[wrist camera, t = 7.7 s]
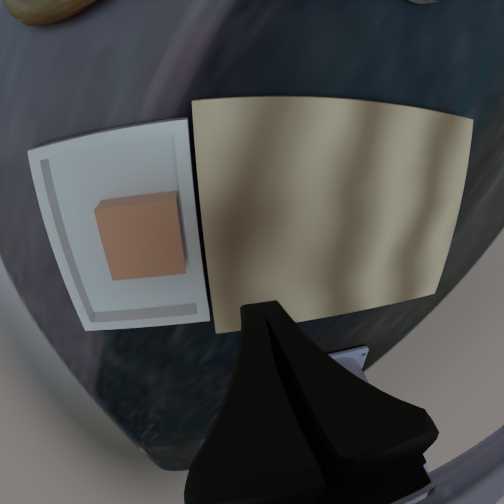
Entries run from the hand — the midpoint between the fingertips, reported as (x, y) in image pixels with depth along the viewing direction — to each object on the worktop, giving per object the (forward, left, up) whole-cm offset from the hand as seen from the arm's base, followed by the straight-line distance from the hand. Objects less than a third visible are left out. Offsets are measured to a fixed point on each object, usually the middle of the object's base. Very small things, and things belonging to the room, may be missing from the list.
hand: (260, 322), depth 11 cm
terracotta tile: (0, +6, -10) cm, 11 cm away
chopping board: (-1, -8, -10) cm, 13 cm away
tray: (0, +7, -10) cm, 13 cm away
